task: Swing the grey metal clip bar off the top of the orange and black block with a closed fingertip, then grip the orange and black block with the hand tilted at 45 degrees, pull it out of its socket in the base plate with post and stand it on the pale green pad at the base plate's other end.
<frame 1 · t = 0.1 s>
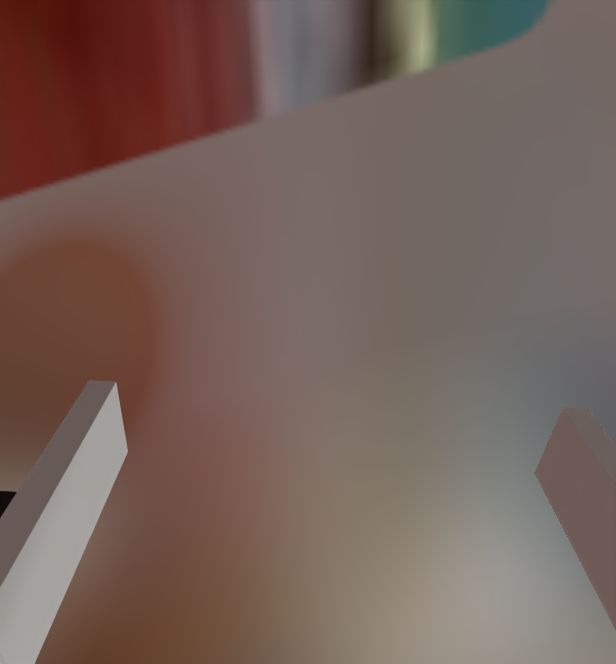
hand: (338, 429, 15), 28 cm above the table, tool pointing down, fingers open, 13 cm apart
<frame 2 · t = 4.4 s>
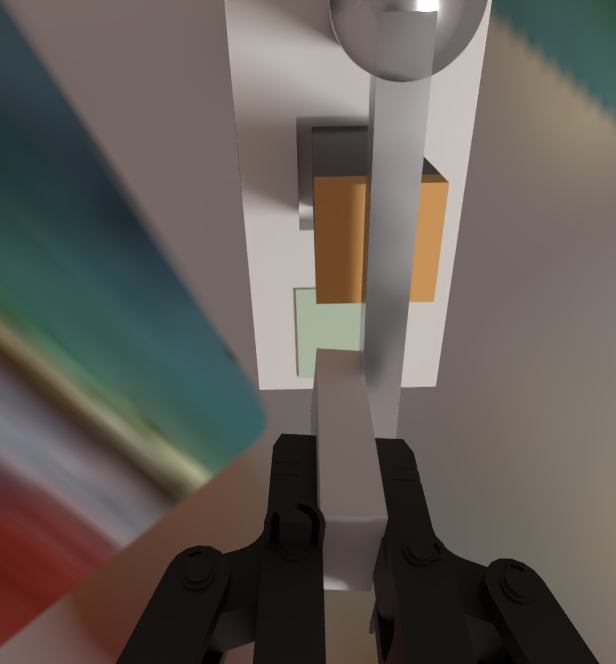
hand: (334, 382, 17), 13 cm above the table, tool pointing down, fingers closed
clip bar: (385, 286, 14), point 14 cm above the table, hinge at 0.0°, touching gripper
orange and black block: (351, 167, 25), point 1 cm above the table, touching base plate with post
base plate with post: (348, 210, 27), on the table
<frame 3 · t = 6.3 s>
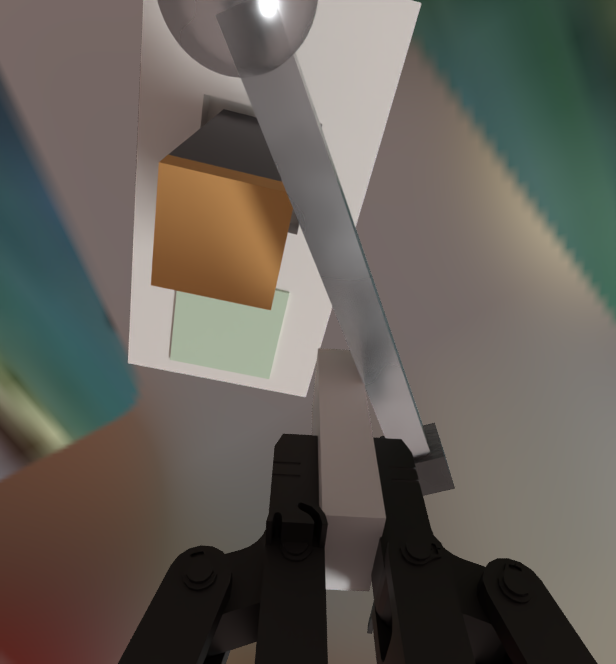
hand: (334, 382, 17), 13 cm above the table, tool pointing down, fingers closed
clip bar: (346, 274, 13), point 14 cm above the table, hinge at 33.9°, touching gripper
orange and black block: (257, 161, 24), point 1 cm above the table, touching base plate with post
base plate with post: (251, 203, 27), on the table
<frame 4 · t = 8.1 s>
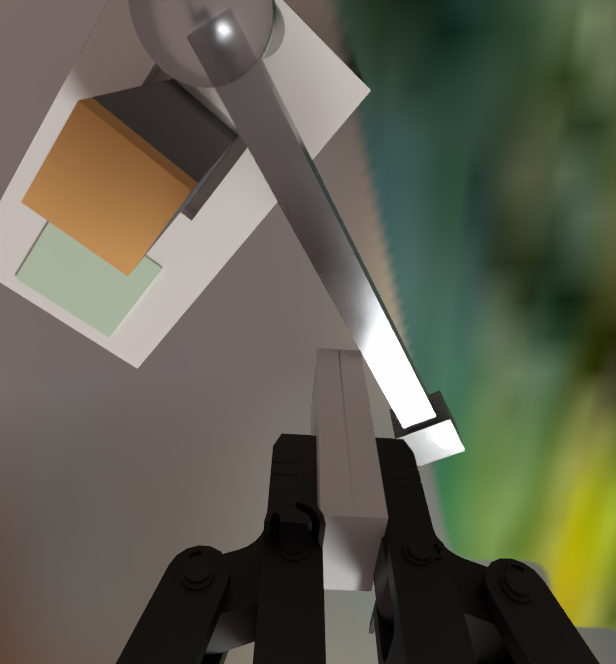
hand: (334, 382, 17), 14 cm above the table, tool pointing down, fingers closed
clip bar: (334, 254, 14), point 14 cm above the table, hinge at 68.6°
orange and black block: (184, 139, 25), point 1 cm above the table, touching base plate with post
base plate with post: (163, 173, 27), on the table
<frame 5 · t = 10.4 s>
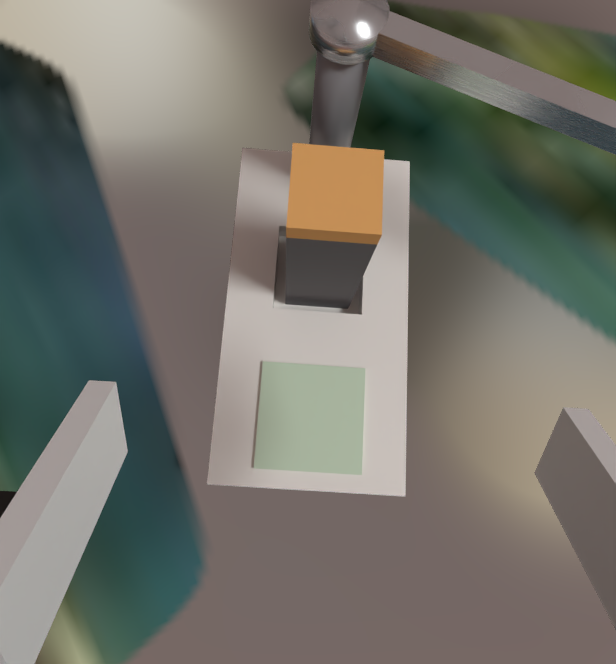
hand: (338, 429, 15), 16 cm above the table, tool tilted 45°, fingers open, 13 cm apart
clip bar: (502, 82, 20), point 14 cm above the table, hinge at 69.8°
orange and black block: (318, 277, 31), point 1 cm above the table, touching base plate with post
base plate with post: (314, 319, 32), on the table
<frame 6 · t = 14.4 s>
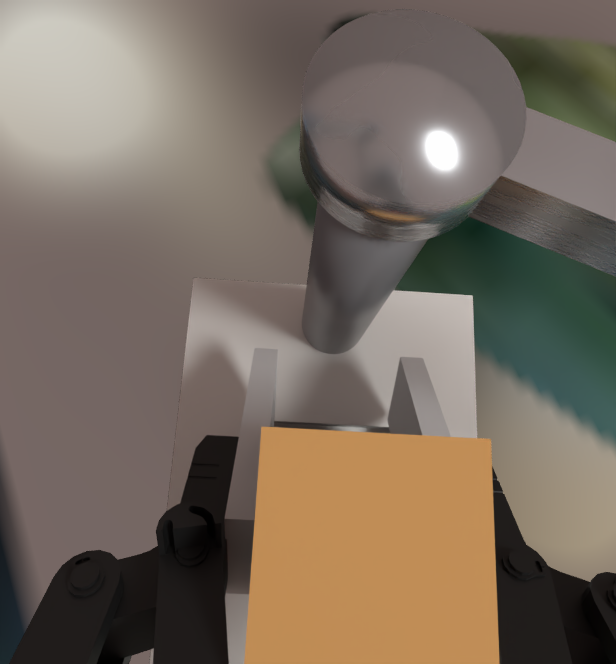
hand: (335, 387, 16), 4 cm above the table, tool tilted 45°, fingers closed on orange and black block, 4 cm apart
orange and black block: (323, 496, 19), point 1 cm above the table, touching gripper, base plate with post
base plate with post: (317, 562, 19), on the table
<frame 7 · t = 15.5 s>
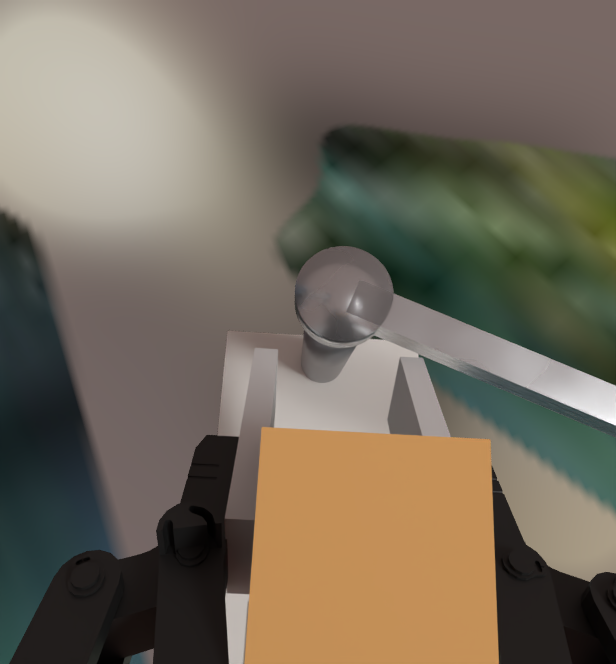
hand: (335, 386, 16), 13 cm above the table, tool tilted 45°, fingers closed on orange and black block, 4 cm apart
clip bar: (535, 378, 16), point 14 cm above the table, hinge at 69.8°, touching gripper
orange and black block: (323, 496, 19), point 10 cm above the table, touching gripper
base plate with post: (311, 524, 28), on the table
when the fingers open (7 cm above the table, at t = 19.1 s): orange and black block stays where it is, resting on base plate with post.
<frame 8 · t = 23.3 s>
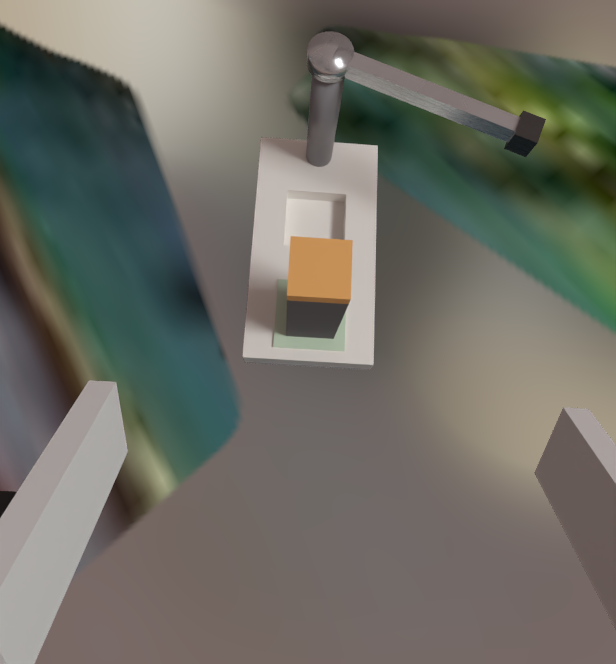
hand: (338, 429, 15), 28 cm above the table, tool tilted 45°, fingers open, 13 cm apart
clip bar: (420, 93, 34), point 14 cm above the table, hinge at 69.8°
orange and black block: (311, 314, 41), point 3 cm above the table, touching base plate with post
base plate with post: (312, 255, 46), on the table
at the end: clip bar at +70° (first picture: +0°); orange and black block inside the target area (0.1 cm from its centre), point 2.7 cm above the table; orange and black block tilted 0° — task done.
